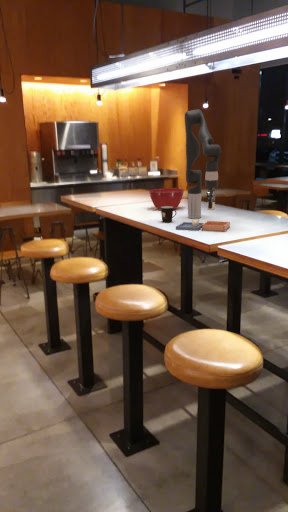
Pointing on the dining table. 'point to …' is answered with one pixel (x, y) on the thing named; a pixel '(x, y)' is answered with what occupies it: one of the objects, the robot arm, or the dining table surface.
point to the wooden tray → (215, 226)
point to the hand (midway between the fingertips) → (211, 207)
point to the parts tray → (188, 226)
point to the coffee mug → (167, 214)
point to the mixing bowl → (166, 197)
